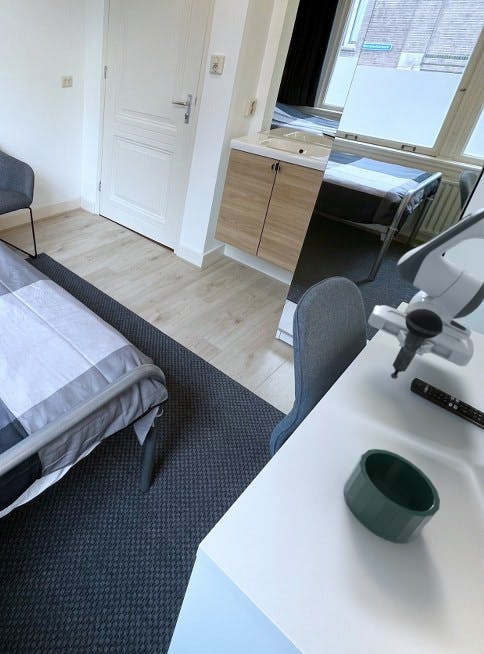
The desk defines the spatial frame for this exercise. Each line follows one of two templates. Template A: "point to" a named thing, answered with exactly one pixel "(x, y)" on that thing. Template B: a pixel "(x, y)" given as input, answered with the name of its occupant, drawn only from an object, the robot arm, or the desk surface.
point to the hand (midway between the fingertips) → (411, 348)
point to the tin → (390, 496)
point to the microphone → (416, 336)
